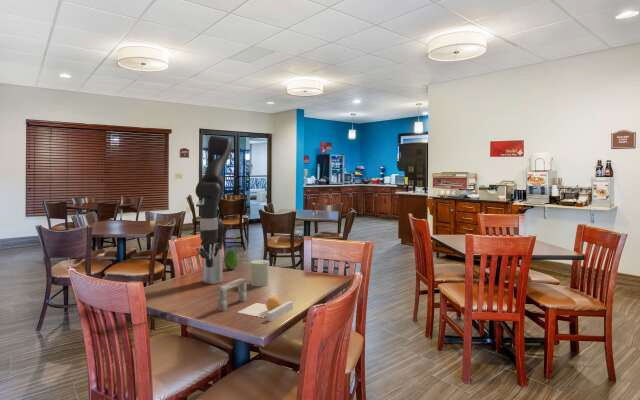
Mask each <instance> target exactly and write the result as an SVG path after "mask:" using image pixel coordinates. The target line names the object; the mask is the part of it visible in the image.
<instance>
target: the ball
mask: <svg viewBox="0 0 640 400" xmlns="http://www.w3.org/2000/svg"><path fill="white" fill-rule="evenodd" d="M281 303H282V302H281V300H280V299H279V297H276V296H271V297H268V299H267V300H266V301H265V305H266V307H267V309H268V310H269V311H271V310H273V309H275V308H276V307H278V306H280V305H282V304H281Z"/></svg>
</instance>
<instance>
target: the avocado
mask: <svg viewBox="0 0 640 400" xmlns="http://www.w3.org/2000/svg"><path fill="white" fill-rule="evenodd" d="M223 262H224V266H225V268H226V269H228V270H233V269H235V268H236V267H237V266H238V263H239V258H238V255H237V253H236V251H235V250H234V249H232V248H231V249H228V250H227V252H226V254H225V256H224V259H223Z"/></svg>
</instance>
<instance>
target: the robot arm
mask: <svg viewBox="0 0 640 400" xmlns="http://www.w3.org/2000/svg"><path fill="white" fill-rule="evenodd" d="M232 147H233V146H232V140H231V138H228V137H223V136H217V135H210V136H209V138H208V143H207V162H206V163H207V164H206V169H205V173H204V175H203V177H202V178H201V179H200V180H199V182H197V185H196V187H195V191H194V192H195V196H197V198H199V199H201V200H202V199H203V204H202V205H200V209H199V212H200V213H199V214H200V221H199V236H200V237H199V238H200V240H201V243H200V247H197V249H196V251H197V253H198V254H199V255H200V257H201V258H202V259H203V263H202V282H203V283H204V284H209V285H215V284H219V283H220V284H221V283H222V282H223V244H224V227H225V226H224V222H223V220H222V219H221V218H220V217H218V205H219V202H220V201H221V200H222V197H223V195H224V192H225V180H224V177H223V176H222V173H223V169H224V167H225V166H226V163H227V161H228V160H229V157H230V155H231V153H232V152H231V151H232ZM216 156H218V157H217V158H215V157H216Z"/></svg>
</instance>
